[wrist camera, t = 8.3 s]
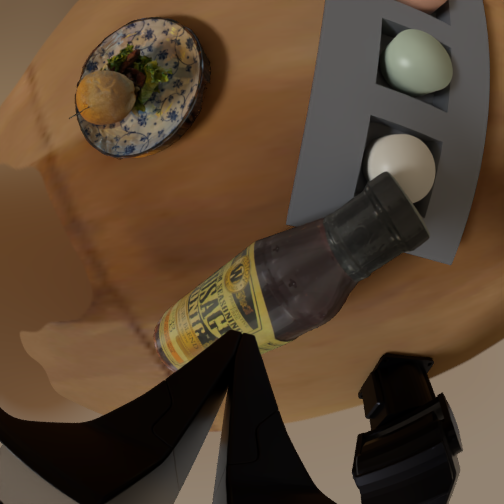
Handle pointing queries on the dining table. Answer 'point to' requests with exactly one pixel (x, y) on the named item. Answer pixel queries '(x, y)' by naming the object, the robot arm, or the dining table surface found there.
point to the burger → (141, 88)
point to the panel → (395, 113)
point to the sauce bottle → (294, 275)
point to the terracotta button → (424, 5)
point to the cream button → (401, 163)
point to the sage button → (415, 63)
